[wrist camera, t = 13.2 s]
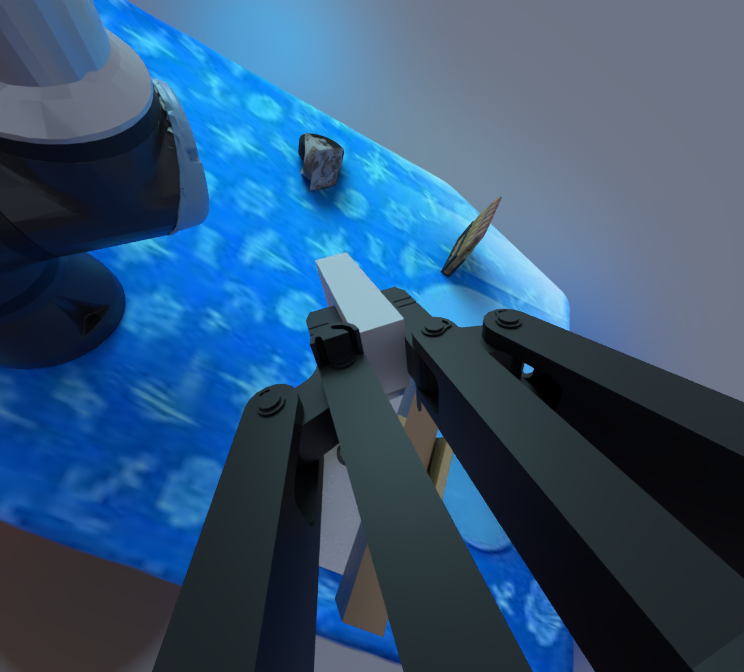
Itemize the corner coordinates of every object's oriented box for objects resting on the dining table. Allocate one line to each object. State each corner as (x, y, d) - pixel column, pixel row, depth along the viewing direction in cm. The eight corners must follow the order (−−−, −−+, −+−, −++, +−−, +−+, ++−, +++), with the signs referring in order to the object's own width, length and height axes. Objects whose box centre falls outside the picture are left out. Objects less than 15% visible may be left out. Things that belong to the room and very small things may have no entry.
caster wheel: (319, 156, 58) (353, 183, 56) (274, 162, 51) (311, 192, 49) (324, 119, 53) (362, 147, 51) (276, 120, 46) (317, 152, 44)
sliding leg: (359, 473, 35) (440, 506, 17) (320, 456, 35) (358, 471, 16) (370, 441, 37) (455, 440, 19) (333, 425, 37) (382, 406, 18)
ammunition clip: (458, 237, 58) (498, 190, 47) (465, 242, 58) (507, 196, 47) (440, 272, 53) (480, 228, 42) (448, 277, 53) (490, 235, 42)
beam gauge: (360, 578, 33) (478, 793, 13) (249, 535, 31) (182, 701, 11) (422, 380, 44) (536, 328, 24) (342, 342, 42) (392, 251, 22)
